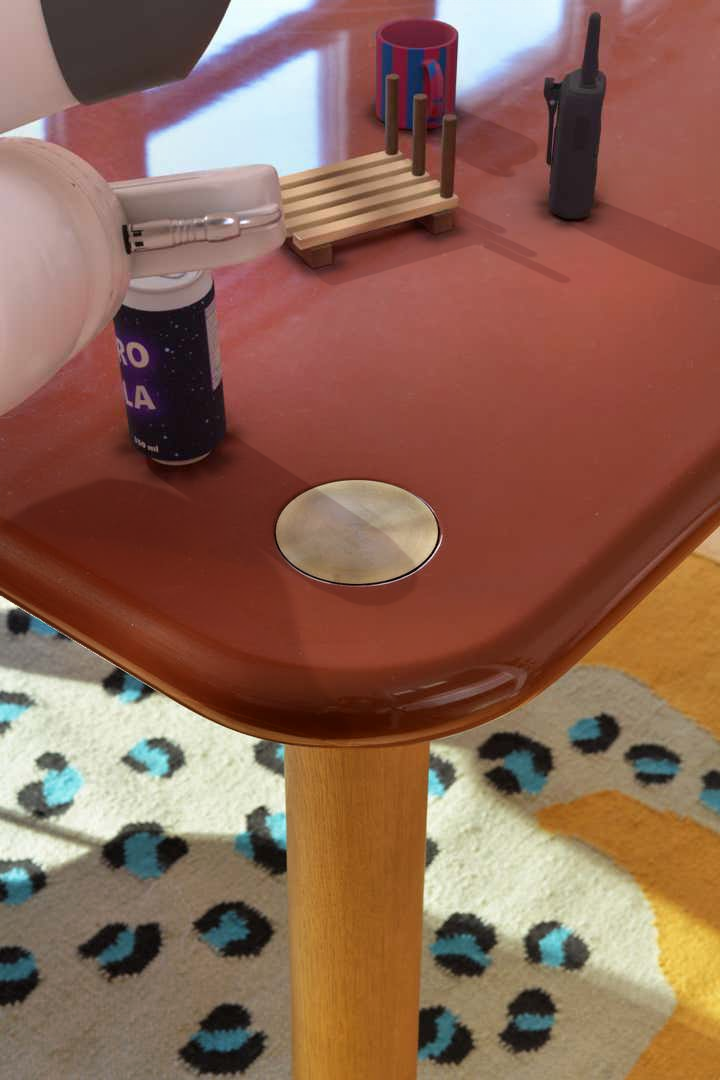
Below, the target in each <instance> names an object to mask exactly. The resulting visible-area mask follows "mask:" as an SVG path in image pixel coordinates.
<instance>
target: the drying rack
mask: <svg viewBox="0 0 720 1080" xmlns="http://www.w3.org/2000/svg"><path fill="white" fill-rule="evenodd" d="M457 124H458V117H457V115H456V114H455V115H451V114H448V115H445V116H443V123H442V126H441V130H442V131H441V148H440V149H441V150H440V153H441V154H440V178H439V180H438V179H433V180H431V173H428V172H427V171H426V158H427V156H426V155H427V129H426V127H427V95H425V94H416V95H414V98H413V130H412V142H411V144H412V146H411V159H410V158H404V153H402V151H400V150H399V130H400V128H399V75H397V74H389V75H387V76H386V113H385V123H384V126H385V127H384V128H385V129H384V130H385V131H384V150H381V151H378V152H374V153H370V154H366V155H362V156H358V157H354V158H351V159H346V160H342V161H339V162H334V163H331V164H327V165H322V166H318V167H315V168H311V169H307V170H303V171H299V172H295V173H291V174H287V175H284V176H278V178H279V183H280V189H281V195H282V201H283V209H284V217H285V227H286V239H285V241H284V243H285V244H286V245H287V246H288V247H289V248H290V249H291V250H292V251H293V252H294V253H295V254H296V255H298V256H299V258H300V259H302V261H304V263H306V265H308V266H309V267H310V268H311V269H312V270H315V269H318V268H323V267H325V266H329V265H332V264H333V245H332V244H331V242H335V241H339V240H342V239H346V238H349V237H350V238H351V237H353V236H357V235H361V234H363V233H367V232H371V231H374V230H379V229H382V228H385V227H390V226H393V225H396V224H401V223H403V222H407V221H411V220H415V221H416V222H418V223H419V224H420V225H422V226H423V227H424V228H425V229H426V230H428V231H429V232H430V233H431V234H432V235H434V236H435V235H438V234H442V233H445V232H449V231H453V220H454V211H453V210H452V209H454V208H457V207H459V199H460V198H459V196H458V195H457V194H456V193H454V192H455V191H454V189H455V171H456V149H457V147H456V146H457V127H458V125H457Z"/></svg>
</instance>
